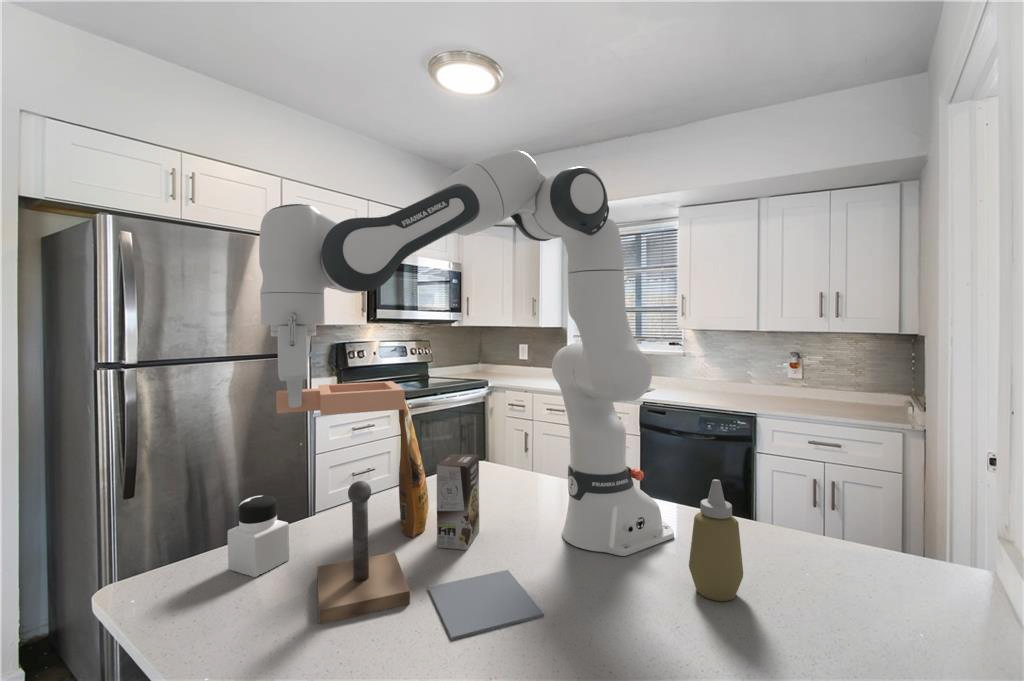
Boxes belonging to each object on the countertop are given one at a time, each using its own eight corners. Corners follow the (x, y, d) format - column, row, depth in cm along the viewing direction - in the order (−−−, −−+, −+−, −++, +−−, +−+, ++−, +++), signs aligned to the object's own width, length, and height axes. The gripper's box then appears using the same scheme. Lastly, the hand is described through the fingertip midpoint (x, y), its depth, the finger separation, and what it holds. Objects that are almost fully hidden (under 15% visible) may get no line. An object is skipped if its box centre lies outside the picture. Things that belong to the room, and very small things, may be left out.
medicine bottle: (290, 560, 90) (288, 495, 90) (255, 578, 84) (253, 508, 83) (263, 552, 93) (261, 490, 93) (227, 570, 87) (225, 502, 86)
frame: (392, 398, 87) (392, 381, 87) (404, 409, 76) (404, 389, 76) (279, 405, 80) (278, 387, 80) (274, 419, 69) (274, 397, 69)
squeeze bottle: (718, 612, 73) (719, 492, 73) (677, 586, 80) (678, 477, 80) (754, 598, 77) (756, 483, 76) (712, 574, 84) (713, 470, 84)
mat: (507, 572, 86) (507, 569, 86) (543, 616, 73) (543, 613, 73) (428, 589, 80) (428, 586, 80) (451, 640, 67) (451, 637, 67)
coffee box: (468, 550, 94) (467, 466, 93) (435, 547, 95) (434, 464, 94) (480, 530, 103) (480, 453, 102) (451, 528, 104) (450, 452, 103)
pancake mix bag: (390, 542, 97) (387, 401, 96) (401, 507, 116) (400, 388, 115) (424, 540, 98) (422, 400, 97) (430, 505, 117) (429, 387, 116)
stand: (394, 563, 89) (393, 465, 88) (409, 603, 76) (408, 489, 75) (317, 577, 84) (315, 474, 83) (319, 623, 71) (316, 501, 70)
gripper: (317, 312, 66) (319, 414, 67) (314, 314, 85) (316, 394, 86) (264, 312, 64) (267, 418, 64) (274, 314, 83) (276, 396, 83)
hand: (295, 404), depth 75 cm, fingers closed on frame, 3 cm apart
